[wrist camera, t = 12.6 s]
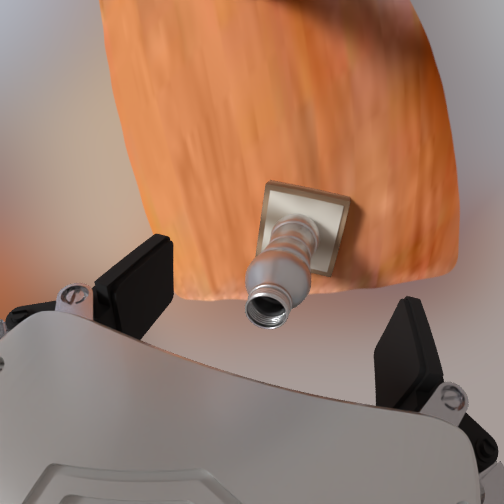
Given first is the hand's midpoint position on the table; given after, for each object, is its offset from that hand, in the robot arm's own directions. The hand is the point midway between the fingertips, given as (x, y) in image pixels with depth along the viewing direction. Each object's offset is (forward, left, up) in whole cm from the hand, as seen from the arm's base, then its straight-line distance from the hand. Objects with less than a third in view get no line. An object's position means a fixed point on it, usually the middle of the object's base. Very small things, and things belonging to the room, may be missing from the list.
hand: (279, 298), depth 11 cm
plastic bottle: (+9, -2, -30) cm, 31 cm away
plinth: (+9, -1, -33) cm, 34 cm away
